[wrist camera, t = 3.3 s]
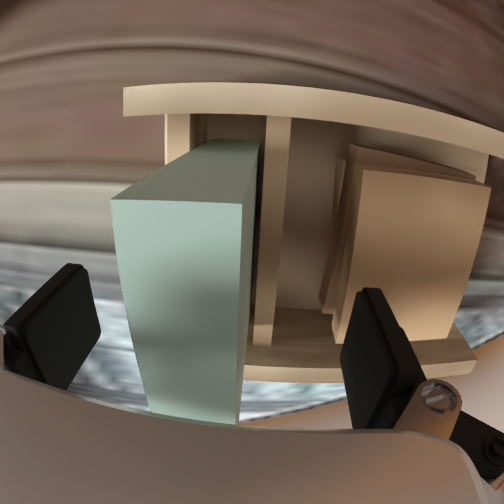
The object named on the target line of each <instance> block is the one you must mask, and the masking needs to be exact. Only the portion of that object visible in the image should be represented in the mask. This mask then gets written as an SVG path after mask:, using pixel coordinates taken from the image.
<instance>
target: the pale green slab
mask: <svg viewBox="0 0 504 504" xmlns="http://www.w3.org/2000/svg"><path fill="white" fill-rule="evenodd" d="M259 155H260V141H257V140H236V139H211V140H209V141H207V142H205V143H203V144H202V145H200V146H198V147H196V148H194V149H192V150H191V151H189V152H187V153H185V154H184V155H182V156H180V157H178V158H176V159H175V160H173V161H171V162H170V163H168V164H166V165H164V166H163V167H161V168H159V169H158V170H156V171H154V172H153V173H151V174H149V175H148V176H146V177H145V178H143V179H141V180H140V181H138V182H136V183H135V184H133V185H132V186H130V187H129V188H127V189H125V190H124V191H122V192H121V193H119V194H118V195H116V196H115V197H113V198H112V199H110V204H111V214H112V224H113V232H114V240H115V248H116V255H117V262H118V269H119V275H120V281H121V287H122V293H123V298H124V304H125V309H126V314H127V319H128V324H129V329H130V333H131V338H132V342H133V347H134V351H135V355H136V359H137V363H138V367H139V371H140V375H141V379H142V383H143V386H144V390H145V393H146V397H147V400H148V404H149V407H150V411H151V412H153V413H158V414H164V415H169V416H175V417H181V418H188V419H194V420H202V421H209V422H217V423H225V424H235V425H238V423H239V413H240V403H241V393H242V384H243V374H244V364H245V354H246V344H247V334H248V324H249V314H250V303H251V293H252V281H253V263H254V245H255V228H256V210H257V192H258V174H259Z"/></svg>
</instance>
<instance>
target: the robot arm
mask: <svg viewBox="0 0 504 504" xmlns="http://www.w3.org/2000/svg"><path fill="white" fill-rule="evenodd" d="M3 325H4V328H5V330H6V334H5V335H3V333H2V332H1V331H0V504H504V433H502V432H500V431H499V430H496V429H495V428H493V427H491V426H489V425H487V424H485V423H484V422H482V421H479V420H478V419H476V418H474V417H472V416H470V415H469V414H467V413H465V412H463V411H461V406H462V400H461V396H460V394H459V392H458V391H457V389H455V388H454V387H453V386H452V385H450V384H449V383H447V382H445V381H442V380H437V379H431V380H427V379H426V377H425V374H424V372H423V370H422V368H421V365H420V363H419V361H418V359H417V357H416V354H415V352H414V350H413V348H412V346H411V344H410V342H409V340H408V338H407V335H406V333H405V331H404V330H403V328H402V327H400V326H399V324H398V322H397V320H396V318H395V316H394V314H393V312H392V310H391V308H390V306H389V304H388V302H387V300H386V298H385V296H384V294H383V292H382V290H381V289H380V288H370V287H364V288H363V289H362V291H358V292H357V293H356V296H355V300H354V304H353V308H352V312H351V316H350V320H349V324H348V328H347V331H346V335H345V339H344V342H343V346H342V349H341V353H340V365H341V369H342V374H343V379H344V384H345V389H346V394H347V400H348V405H349V410H350V416H351V421H352V427H353V429H299V428H298V429H297V428H273V427H258V426H246V425H245V426H244V425H235V424H225V423H217V422H209V421H202V420H194V419H188V418H181V417H175V416H169V415H164V414H158V413H153V412H148V411H143V410H138V409H134V408H129V407H125V406H121V405H116V404H112V403H108V402H104V401H101V400H97V399H93V398H89V397H86V396H82V395H79V394H75V393H72V392H69V391H66V390H67V388H68V387H69V385H70V383H71V382H72V380H73V378H74V377H75V375H76V374H77V372H78V370H79V369H80V367H81V366H82V364H83V362H84V361H85V359H86V358H87V356H88V355H89V353H90V352H91V350H92V348H93V347H94V345H95V344H96V342H97V341H98V339H99V337H100V334H101V328H100V324H99V320H98V316H97V312H96V308H95V304H94V300H93V295H92V291H91V286H90V281H89V276H88V272H87V270H86V269H84V267H83V266H82V265H81V264H72V263H67V264H66V265H65V266H64V267H62V268H61V269H60V270H59V271H58V272H57V273H56V274H55V275H54V276H53V277H51V278H50V279H49V280H48V281H47V282H46V283H45V284H44V285H43V286H42V287H41V288H40V289H39V290H38V291H36V292H35V293H34V294H33V295H32V296H31V297H30V298H29V299H28V300H27V301H26V302H25V303H24V304H23V305H22V306H21V307H20V308H19V309H18V310H17V311H16V312H15V313H14V314H13V315H12V316H11V317H10V318H9V319H8V320H7V321H6V322H5V323H4V324H3Z"/></svg>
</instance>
